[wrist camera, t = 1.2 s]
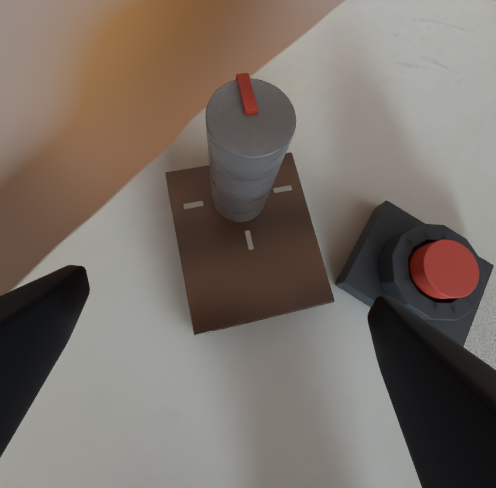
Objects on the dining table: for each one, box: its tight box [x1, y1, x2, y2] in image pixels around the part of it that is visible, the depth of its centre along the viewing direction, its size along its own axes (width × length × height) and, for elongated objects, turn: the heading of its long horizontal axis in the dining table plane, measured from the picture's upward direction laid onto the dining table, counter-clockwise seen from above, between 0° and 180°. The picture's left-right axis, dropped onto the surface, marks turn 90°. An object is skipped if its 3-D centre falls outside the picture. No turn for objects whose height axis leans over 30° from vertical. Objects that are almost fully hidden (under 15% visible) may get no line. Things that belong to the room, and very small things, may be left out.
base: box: [165, 153, 334, 336], centre depth 22 cm, size 13×10×3 cm
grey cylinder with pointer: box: [206, 73, 296, 222], centre depth 16 cm, size 4×4×9 cm
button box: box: [335, 201, 494, 347], centre depth 22 cm, size 10×8×4 cm
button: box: [409, 240, 479, 299], centre depth 20 cm, size 4×4×2 cm
